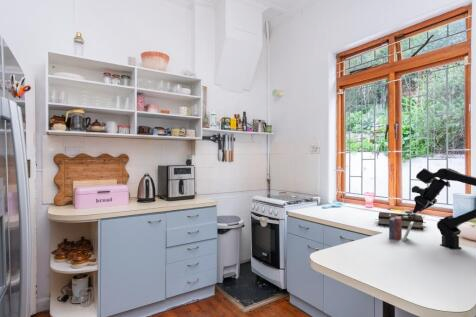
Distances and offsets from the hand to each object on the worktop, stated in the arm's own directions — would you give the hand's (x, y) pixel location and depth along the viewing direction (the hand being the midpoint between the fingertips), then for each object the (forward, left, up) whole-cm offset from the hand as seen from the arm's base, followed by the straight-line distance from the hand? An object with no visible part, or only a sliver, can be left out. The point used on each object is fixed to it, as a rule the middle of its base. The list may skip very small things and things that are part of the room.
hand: (416, 212), depth 152 cm
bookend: (+2, +5, -15) cm, 16 cm away
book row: (+5, +9, -15) cm, 19 cm away
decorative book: (+33, -19, -16) cm, 41 cm away
